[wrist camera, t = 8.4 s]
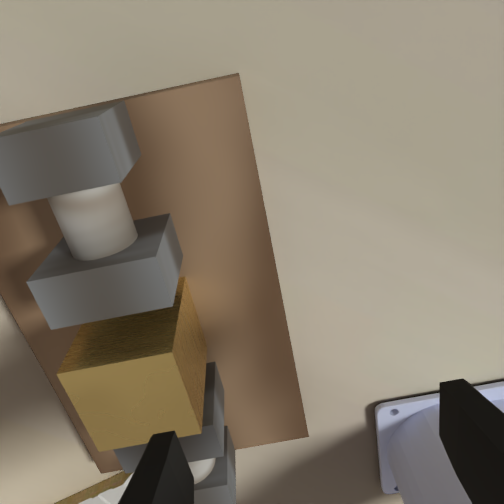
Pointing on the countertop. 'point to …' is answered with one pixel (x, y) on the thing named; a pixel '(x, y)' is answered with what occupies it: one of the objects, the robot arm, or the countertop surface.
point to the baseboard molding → (101, 491)
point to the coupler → (139, 374)
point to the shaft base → (213, 262)
